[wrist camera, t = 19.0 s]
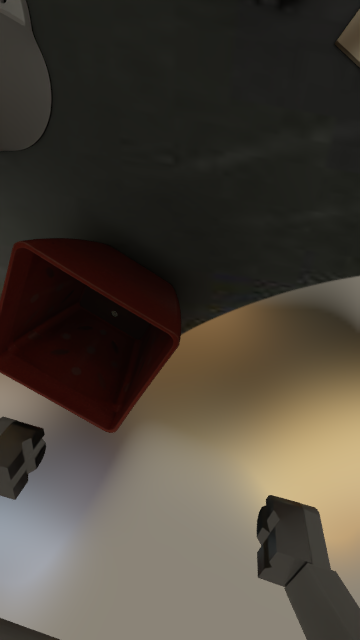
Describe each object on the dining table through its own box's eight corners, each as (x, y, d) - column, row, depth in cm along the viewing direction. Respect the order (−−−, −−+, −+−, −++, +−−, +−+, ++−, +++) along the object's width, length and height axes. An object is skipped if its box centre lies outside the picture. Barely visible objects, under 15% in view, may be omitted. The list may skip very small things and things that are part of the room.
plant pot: (93, 209, 42) (12, 236, 28) (204, 280, 44) (183, 340, 30) (56, 306, 52) (-17, 364, 38) (149, 361, 54) (112, 436, 39)
